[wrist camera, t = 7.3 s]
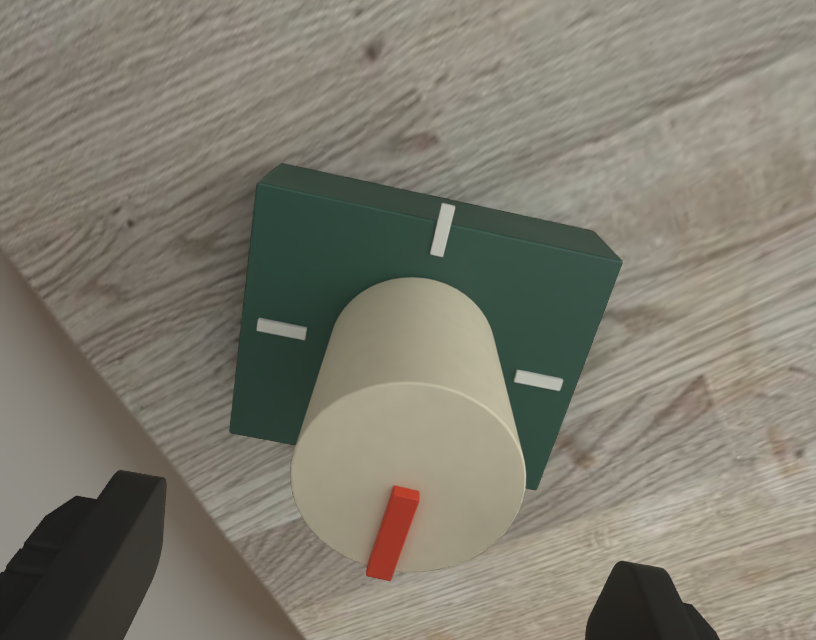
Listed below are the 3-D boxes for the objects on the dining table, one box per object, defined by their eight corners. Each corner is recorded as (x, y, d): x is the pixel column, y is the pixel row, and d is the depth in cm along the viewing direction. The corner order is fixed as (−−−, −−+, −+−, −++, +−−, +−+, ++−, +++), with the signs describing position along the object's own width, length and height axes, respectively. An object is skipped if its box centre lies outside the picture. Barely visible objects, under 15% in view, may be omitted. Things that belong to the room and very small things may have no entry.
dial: (350, 256, 16) (313, 362, 11) (518, 302, 17) (565, 426, 11) (314, 402, 18) (267, 556, 13) (465, 439, 19) (484, 604, 13)
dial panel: (251, 397, 22) (225, 450, 19) (282, 145, 18) (256, 163, 15) (519, 448, 23) (533, 506, 20) (600, 215, 19) (632, 245, 16)
